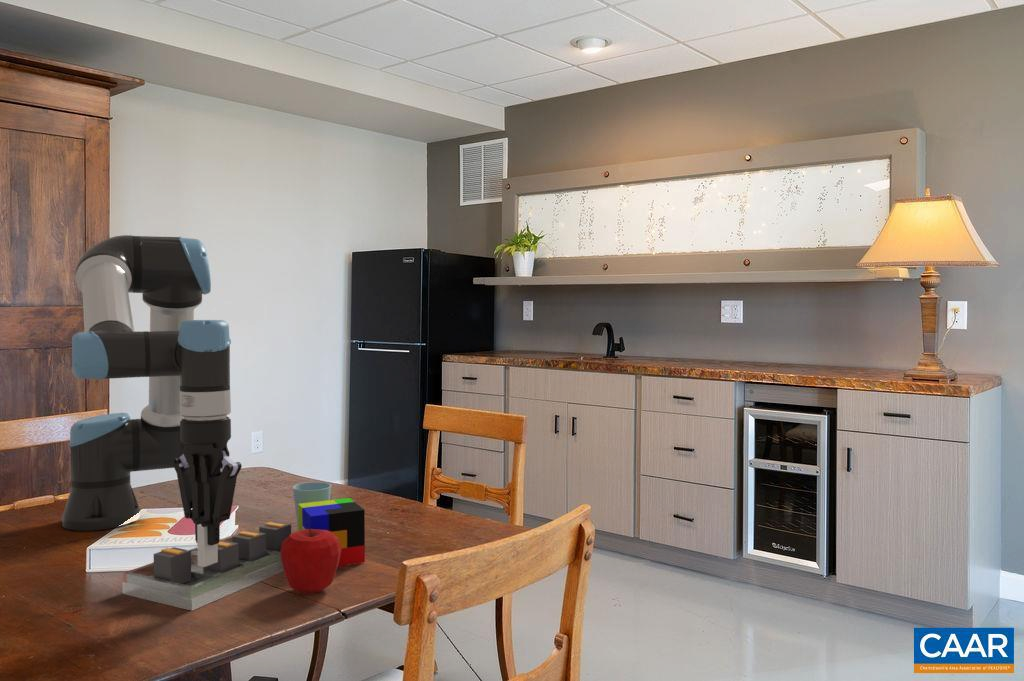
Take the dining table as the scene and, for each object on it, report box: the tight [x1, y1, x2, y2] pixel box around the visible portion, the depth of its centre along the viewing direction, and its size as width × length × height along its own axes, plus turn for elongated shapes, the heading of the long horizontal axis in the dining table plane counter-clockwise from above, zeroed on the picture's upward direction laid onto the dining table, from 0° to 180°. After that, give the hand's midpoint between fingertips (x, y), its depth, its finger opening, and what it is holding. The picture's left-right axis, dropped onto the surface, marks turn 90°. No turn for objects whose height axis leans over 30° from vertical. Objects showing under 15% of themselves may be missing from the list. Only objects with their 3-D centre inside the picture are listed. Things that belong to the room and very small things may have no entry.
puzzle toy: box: [297, 497, 366, 567], centre depth 149 cm, size 10×10×10 cm
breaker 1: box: [153, 546, 191, 584], centre depth 129 cm, size 4×4×5 cm
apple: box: [280, 528, 342, 595], centre depth 132 cm, size 10×10×11 cm
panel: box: [121, 532, 284, 612], centre depth 138 cm, size 16×26×4 cm, turn 154°
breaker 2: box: [203, 540, 239, 573], centre depth 133 cm, size 4×4×5 cm
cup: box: [292, 481, 332, 526], centre depth 163 cm, size 8×8×10 cm
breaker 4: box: [258, 521, 292, 551], centre depth 145 cm, size 4×4×5 cm
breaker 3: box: [231, 530, 266, 562], centre depth 139 cm, size 4×4×5 cm
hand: (207, 563), depth 126 cm, fingers closed
